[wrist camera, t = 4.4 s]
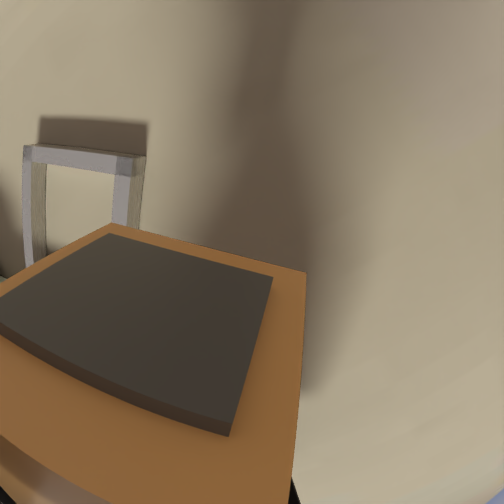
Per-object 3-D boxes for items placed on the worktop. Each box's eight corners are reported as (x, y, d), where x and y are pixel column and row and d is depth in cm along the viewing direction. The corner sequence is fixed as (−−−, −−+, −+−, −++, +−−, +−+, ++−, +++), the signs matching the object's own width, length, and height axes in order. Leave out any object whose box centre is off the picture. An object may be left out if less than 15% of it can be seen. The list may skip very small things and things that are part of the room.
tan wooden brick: (309, 263, 7) (290, 545, 2) (237, 471, 11) (200, 599, 5) (112, 212, 8) (-95, 329, 2) (121, 432, 11) (56, 540, 5)
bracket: (146, 156, 17) (132, 158, 15) (134, 334, 21) (125, 346, 20) (38, 143, 17) (23, 145, 16) (42, 296, 22) (31, 304, 20)
